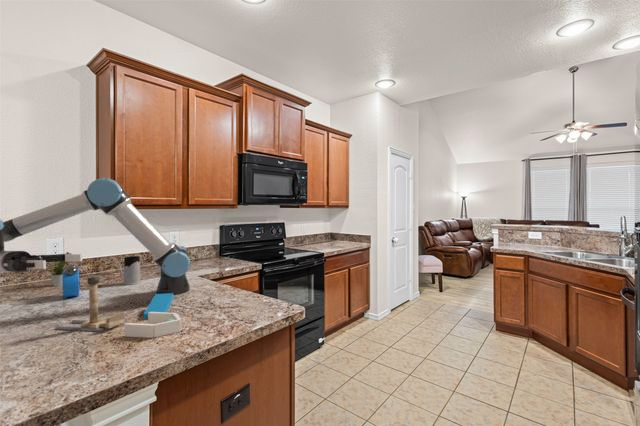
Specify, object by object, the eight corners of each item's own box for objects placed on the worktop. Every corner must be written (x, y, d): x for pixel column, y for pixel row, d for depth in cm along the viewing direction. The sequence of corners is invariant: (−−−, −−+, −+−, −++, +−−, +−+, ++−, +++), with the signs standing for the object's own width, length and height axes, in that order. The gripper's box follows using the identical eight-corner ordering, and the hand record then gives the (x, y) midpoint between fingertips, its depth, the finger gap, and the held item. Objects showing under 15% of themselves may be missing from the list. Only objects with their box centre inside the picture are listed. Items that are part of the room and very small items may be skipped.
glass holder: (131, 285, 168) (130, 258, 168) (112, 283, 173) (112, 257, 173) (144, 282, 177) (144, 256, 177) (126, 280, 181) (126, 255, 181)
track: (55, 329, 106) (55, 327, 106) (73, 322, 113) (73, 319, 113) (101, 331, 104) (101, 329, 104) (117, 324, 111) (117, 321, 111)
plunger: (78, 329, 106) (77, 279, 105) (94, 322, 112) (93, 275, 112) (109, 331, 104) (108, 280, 104) (123, 324, 110) (123, 276, 110)
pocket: (124, 336, 100) (124, 324, 100) (150, 322, 112) (150, 311, 112) (169, 338, 98) (169, 326, 98) (190, 324, 110) (190, 313, 110)
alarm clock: (64, 294, 151) (63, 264, 151) (79, 292, 155) (79, 263, 155) (62, 300, 141) (62, 268, 140) (79, 298, 144) (79, 266, 144)
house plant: (84, 282, 178) (84, 254, 178) (62, 288, 164) (61, 257, 164) (62, 281, 179) (61, 254, 179) (38, 287, 165) (37, 257, 165)
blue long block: (164, 328, 119) (176, 302, 136) (162, 312, 117) (175, 288, 134) (145, 329, 118) (160, 303, 135) (143, 314, 116) (158, 289, 133)
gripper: (47, 264, 124) (94, 264, 122) (-30, 279, 99) (27, 279, 97) (46, 246, 124) (93, 245, 121) (-31, 256, 99) (25, 256, 97)
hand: (64, 261), depth 109 cm, fingers open, 13 cm apart
